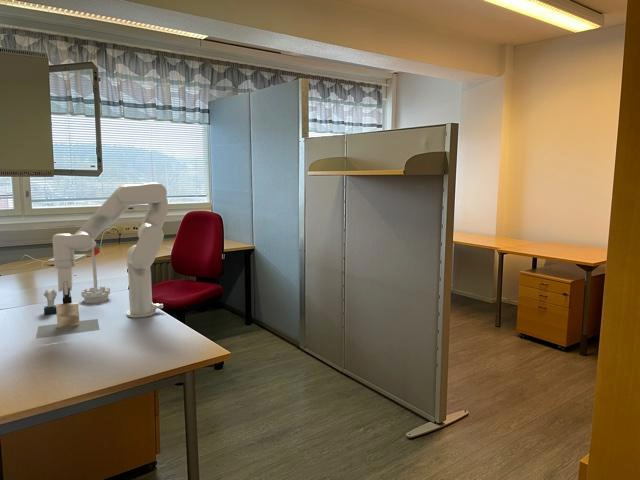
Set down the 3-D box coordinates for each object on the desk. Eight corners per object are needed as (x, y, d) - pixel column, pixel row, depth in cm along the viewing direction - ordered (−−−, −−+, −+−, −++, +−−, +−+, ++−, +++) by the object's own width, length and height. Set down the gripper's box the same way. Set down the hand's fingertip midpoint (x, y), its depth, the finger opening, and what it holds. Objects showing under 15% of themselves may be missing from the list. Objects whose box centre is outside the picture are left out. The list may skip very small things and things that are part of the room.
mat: (97, 320, 202) (97, 318, 202) (99, 330, 188) (99, 329, 188) (38, 327, 192) (38, 326, 192) (35, 339, 178) (35, 338, 178)
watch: (59, 310, 216) (57, 287, 215) (58, 314, 209) (56, 290, 207) (45, 311, 214) (43, 288, 212) (43, 316, 206) (42, 292, 205)
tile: (79, 322, 196) (78, 302, 195) (79, 324, 194) (78, 303, 193) (57, 325, 193) (56, 304, 191) (57, 327, 190) (56, 306, 189)
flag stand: (76, 301, 231) (72, 241, 227) (99, 295, 243) (95, 238, 239) (93, 304, 225) (89, 243, 221) (116, 298, 237) (113, 240, 233)
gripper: (55, 261, 198) (58, 303, 201) (53, 267, 185) (56, 312, 187) (75, 259, 201) (77, 301, 204) (74, 265, 188) (77, 309, 191)
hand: (67, 306), depth 196 cm, fingers closed
